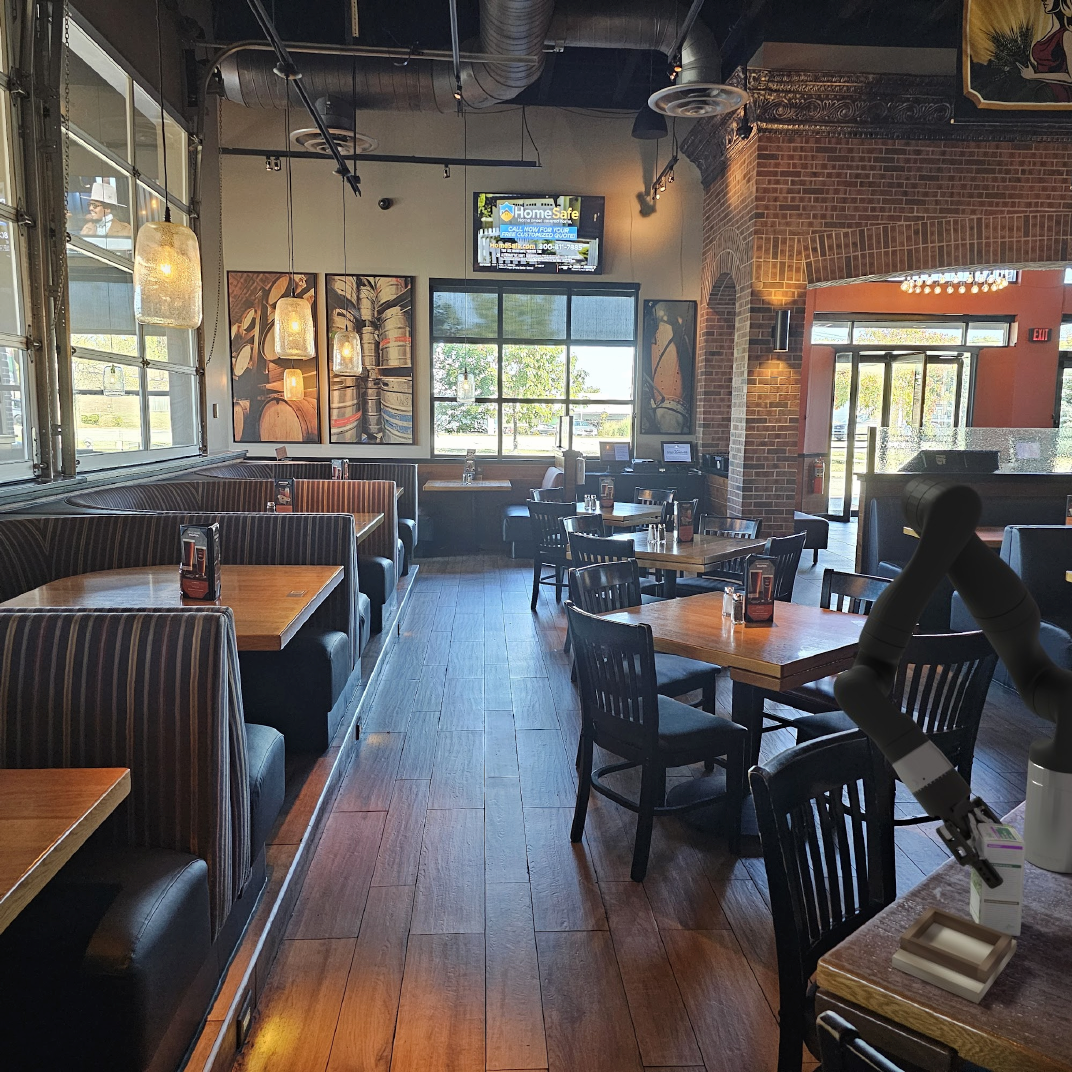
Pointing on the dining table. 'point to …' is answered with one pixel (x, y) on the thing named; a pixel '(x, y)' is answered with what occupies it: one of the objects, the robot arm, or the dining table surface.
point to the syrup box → (1008, 860)
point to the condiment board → (954, 953)
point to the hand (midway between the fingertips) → (1007, 875)
